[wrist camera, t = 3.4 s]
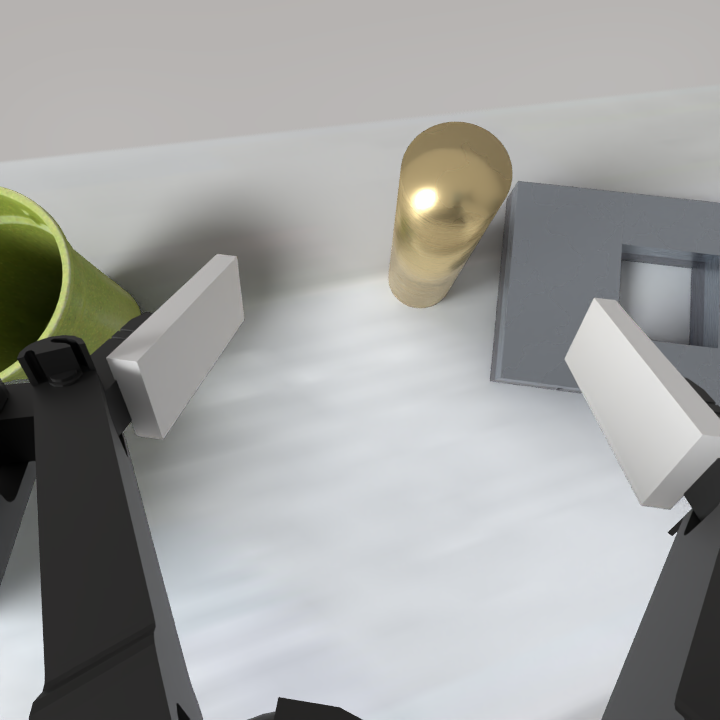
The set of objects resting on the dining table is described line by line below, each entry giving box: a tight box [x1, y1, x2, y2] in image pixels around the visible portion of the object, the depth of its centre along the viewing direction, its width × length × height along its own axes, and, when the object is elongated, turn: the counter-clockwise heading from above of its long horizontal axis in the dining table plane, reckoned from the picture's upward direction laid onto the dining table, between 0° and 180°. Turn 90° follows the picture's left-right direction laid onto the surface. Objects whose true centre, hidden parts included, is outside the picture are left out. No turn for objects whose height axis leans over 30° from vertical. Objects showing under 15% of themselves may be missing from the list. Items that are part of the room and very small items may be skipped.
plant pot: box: [0, 187, 141, 383], centre depth 21 cm, size 9×9×9 cm
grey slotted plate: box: [490, 181, 720, 407], centre depth 23 cm, size 14×12×2 cm
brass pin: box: [388, 122, 512, 308], centre depth 20 cm, size 4×4×11 cm
